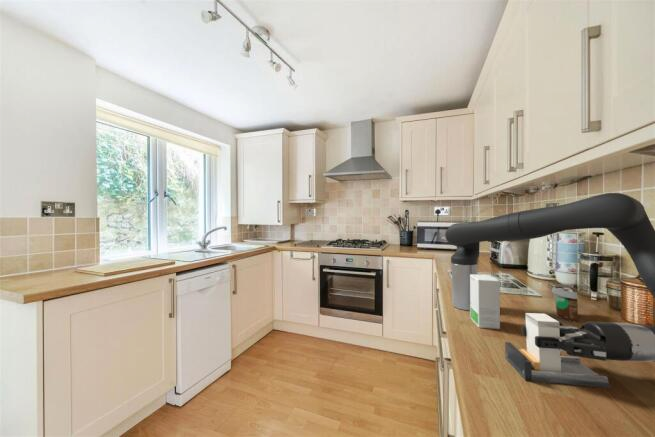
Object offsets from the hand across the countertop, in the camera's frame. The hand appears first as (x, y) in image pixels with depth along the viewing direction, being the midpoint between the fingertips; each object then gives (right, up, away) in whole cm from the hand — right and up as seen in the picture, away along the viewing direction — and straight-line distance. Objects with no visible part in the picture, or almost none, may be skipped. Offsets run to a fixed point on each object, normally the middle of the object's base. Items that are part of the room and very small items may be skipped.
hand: (529, 336), depth 59 cm
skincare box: (+6, -8, +26) cm, 28 cm away
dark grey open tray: (+4, -8, -1) cm, 9 cm away
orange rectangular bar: (0, -6, 0) cm, 6 cm away
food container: (+37, -7, +31) cm, 49 cm away
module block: (+3, -6, -1) cm, 7 cm away
